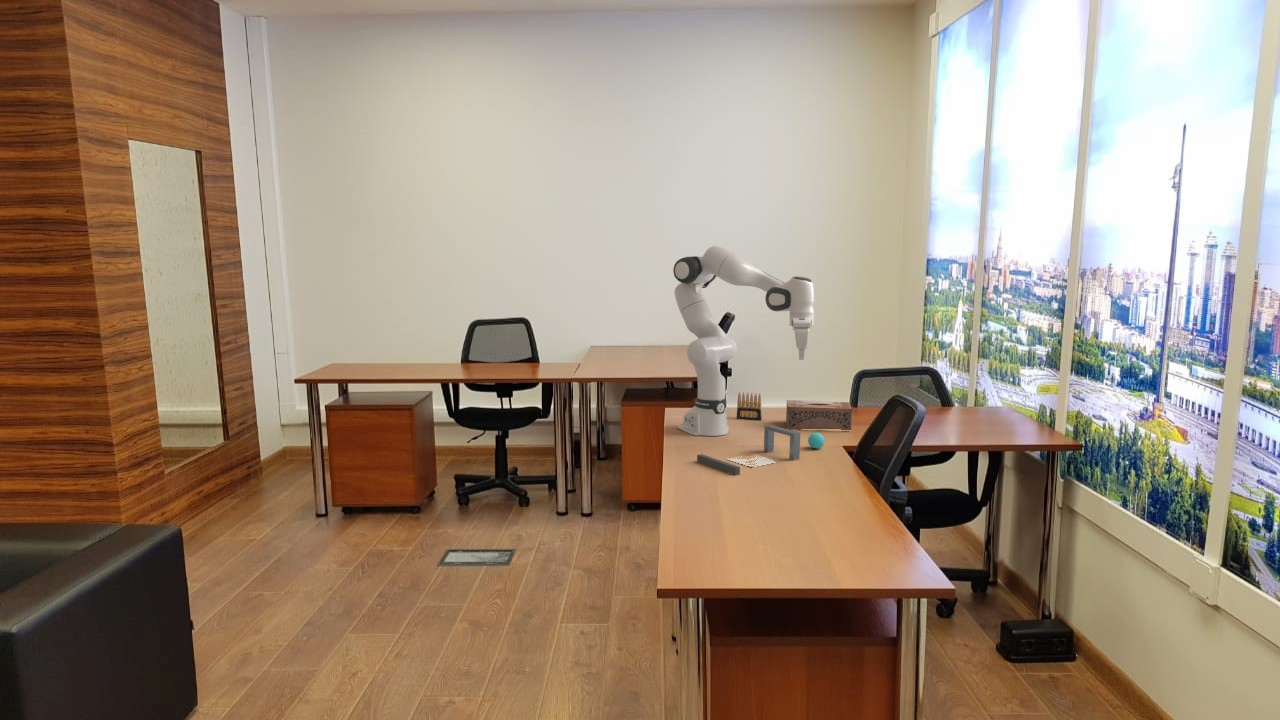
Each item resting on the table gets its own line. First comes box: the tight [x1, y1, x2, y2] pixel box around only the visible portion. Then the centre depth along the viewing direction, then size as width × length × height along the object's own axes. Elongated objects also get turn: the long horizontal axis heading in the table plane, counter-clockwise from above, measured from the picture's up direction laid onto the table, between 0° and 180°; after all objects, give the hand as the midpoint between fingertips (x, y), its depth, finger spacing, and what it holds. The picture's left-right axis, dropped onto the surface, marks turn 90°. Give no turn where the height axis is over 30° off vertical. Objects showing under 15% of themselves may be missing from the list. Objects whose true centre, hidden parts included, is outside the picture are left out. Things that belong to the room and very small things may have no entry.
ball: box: [807, 432, 825, 450], centre depth 305 cm, size 6×6×6 cm
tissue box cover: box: [785, 399, 853, 431], centre depth 341 cm, size 26×14×10 cm, turn 81°
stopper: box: [696, 453, 741, 476], centre depth 278 cm, size 20×2×2 cm, turn 35°
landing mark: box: [726, 454, 777, 468], centre depth 287 cm, size 13×13×1 cm
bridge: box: [763, 424, 801, 461], centre depth 295 cm, size 3×15×10 cm, turn 35°
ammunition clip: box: [735, 391, 762, 422], centre depth 355 cm, size 11×2×12 cm, turn 75°
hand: (801, 358), depth 303 cm, fingers open, 8 cm apart
